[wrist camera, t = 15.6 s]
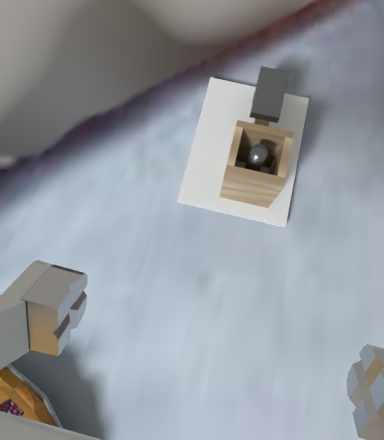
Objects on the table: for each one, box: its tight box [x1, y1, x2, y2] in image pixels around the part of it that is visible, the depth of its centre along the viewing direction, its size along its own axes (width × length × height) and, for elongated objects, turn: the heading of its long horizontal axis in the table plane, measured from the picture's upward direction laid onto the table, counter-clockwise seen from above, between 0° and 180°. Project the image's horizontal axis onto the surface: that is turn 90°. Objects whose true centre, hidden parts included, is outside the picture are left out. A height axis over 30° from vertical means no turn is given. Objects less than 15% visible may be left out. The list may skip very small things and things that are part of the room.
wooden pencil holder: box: [219, 118, 294, 208], centre depth 37 cm, size 10×5×7 cm, turn 166°
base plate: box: [177, 78, 309, 227], centre depth 42 cm, size 16×12×1 cm
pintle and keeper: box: [245, 66, 289, 172], centre depth 38 cm, size 12×3×8 cm, turn 166°
